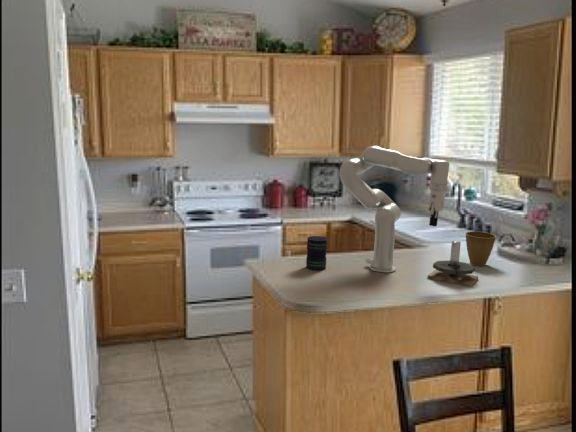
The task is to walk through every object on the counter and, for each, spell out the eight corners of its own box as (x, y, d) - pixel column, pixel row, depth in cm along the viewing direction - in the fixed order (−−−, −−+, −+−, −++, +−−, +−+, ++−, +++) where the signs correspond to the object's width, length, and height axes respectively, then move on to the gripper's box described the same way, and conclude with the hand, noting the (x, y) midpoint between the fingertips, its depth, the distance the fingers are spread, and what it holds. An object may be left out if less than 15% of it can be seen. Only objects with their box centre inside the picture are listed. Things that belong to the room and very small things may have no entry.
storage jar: (302, 266, 278) (303, 236, 275) (319, 264, 282) (320, 235, 280) (312, 271, 269) (313, 241, 267) (329, 269, 274) (331, 239, 271)
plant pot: (457, 261, 300) (459, 231, 297) (480, 260, 304) (483, 231, 301) (474, 268, 286) (477, 238, 283) (498, 267, 290) (502, 237, 288)
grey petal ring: (429, 269, 262) (429, 266, 262) (440, 261, 278) (440, 258, 277) (468, 276, 253) (468, 273, 253) (477, 268, 268) (478, 264, 268)
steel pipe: (447, 276, 265) (450, 241, 262) (449, 273, 269) (452, 240, 266) (456, 277, 263) (459, 243, 260) (459, 275, 267) (462, 241, 264)
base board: (427, 278, 266) (427, 275, 265) (436, 271, 277) (436, 268, 277) (470, 286, 255) (470, 283, 255) (478, 279, 267) (478, 276, 267)
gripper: (441, 189, 252) (436, 229, 256) (450, 186, 265) (445, 224, 269) (425, 187, 256) (420, 226, 259) (434, 184, 269) (429, 222, 272)
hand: (432, 225), depth 264 cm, fingers closed
